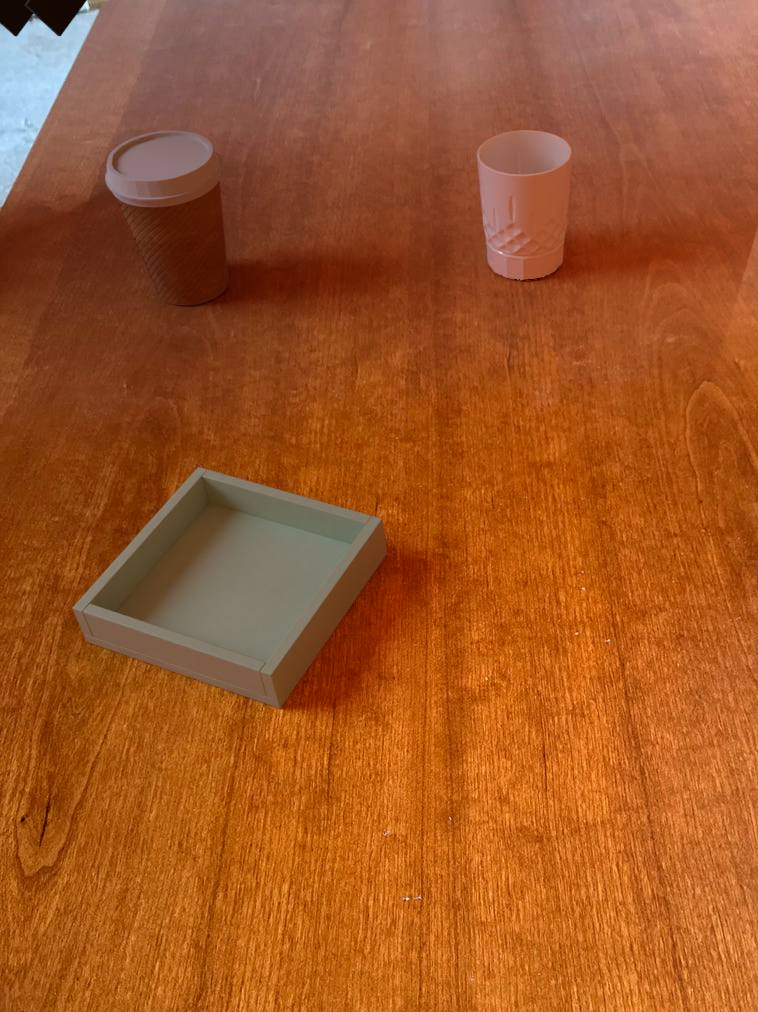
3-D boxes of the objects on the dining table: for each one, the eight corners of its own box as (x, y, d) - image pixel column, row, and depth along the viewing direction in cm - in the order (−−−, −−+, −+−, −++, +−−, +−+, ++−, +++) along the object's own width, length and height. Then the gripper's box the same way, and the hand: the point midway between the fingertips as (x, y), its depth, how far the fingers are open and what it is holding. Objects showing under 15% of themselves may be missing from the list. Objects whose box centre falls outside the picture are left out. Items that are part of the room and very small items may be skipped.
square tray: (86, 642, 77) (71, 607, 74) (208, 501, 85) (198, 466, 83) (280, 709, 73) (271, 675, 70) (387, 553, 81) (382, 518, 79)
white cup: (470, 278, 103) (464, 169, 96) (495, 232, 108) (492, 125, 101) (557, 290, 102) (558, 180, 94) (579, 243, 107) (582, 134, 99)
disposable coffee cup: (116, 297, 104) (75, 166, 95) (190, 247, 109) (158, 118, 100) (196, 329, 100) (161, 195, 91) (269, 275, 105) (243, 144, 96)
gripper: (299, -194, 79) (111, 64, 79) (177, -149, 98) (26, 59, 98) (213, -303, 74) (12, -28, 74) (102, -233, 93) (-57, -14, 93)
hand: (19, 22), depth 86 cm, fingers open, 13 cm apart
